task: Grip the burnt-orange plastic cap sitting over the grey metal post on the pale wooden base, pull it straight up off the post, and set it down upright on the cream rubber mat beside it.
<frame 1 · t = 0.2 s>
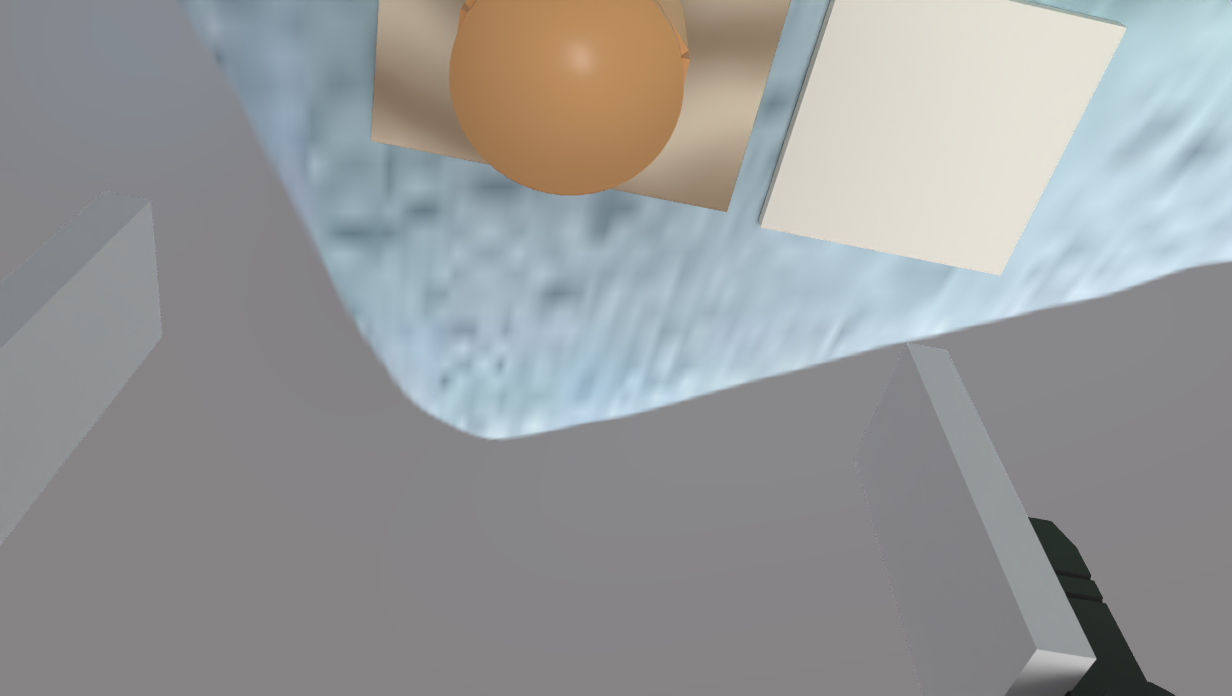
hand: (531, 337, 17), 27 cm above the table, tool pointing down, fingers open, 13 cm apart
cap: (577, 30, 33), point 7 cm above the table, touching post base
pad: (926, 127, 42), on the table
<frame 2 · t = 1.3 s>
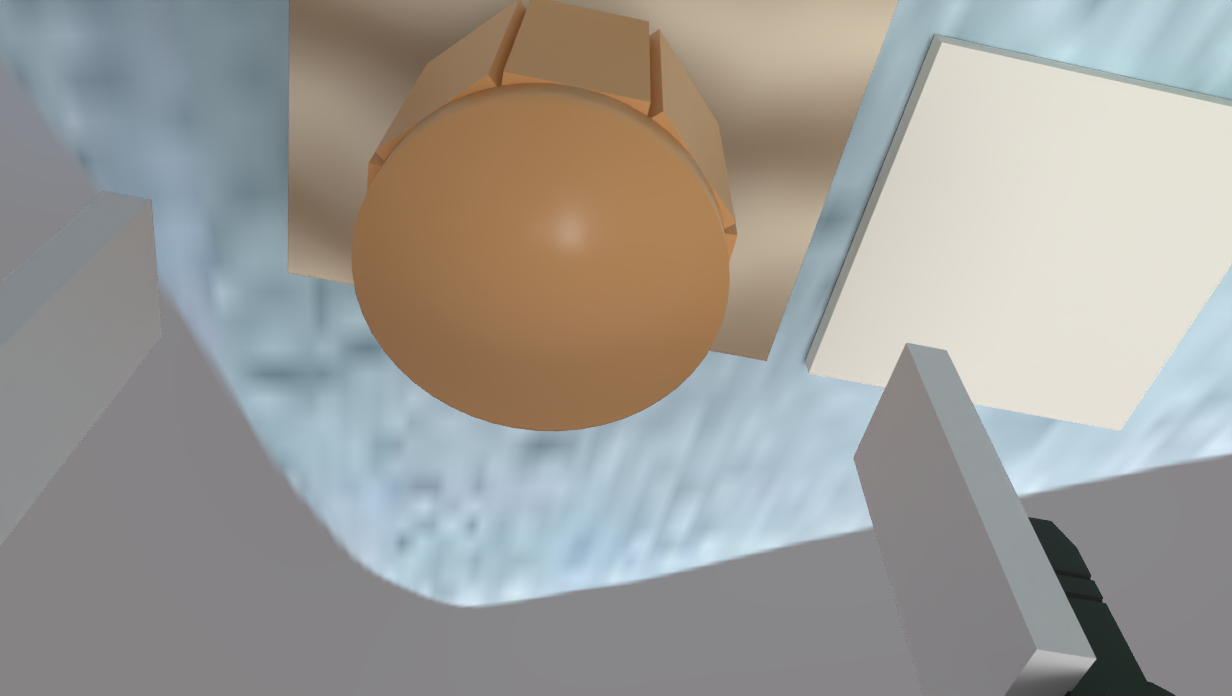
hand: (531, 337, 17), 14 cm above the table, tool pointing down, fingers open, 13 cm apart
cap: (563, 156, 22), point 7 cm above the table, touching post base
pad: (1034, 249, 31), on the table
post base: (579, 62, 28), on the table
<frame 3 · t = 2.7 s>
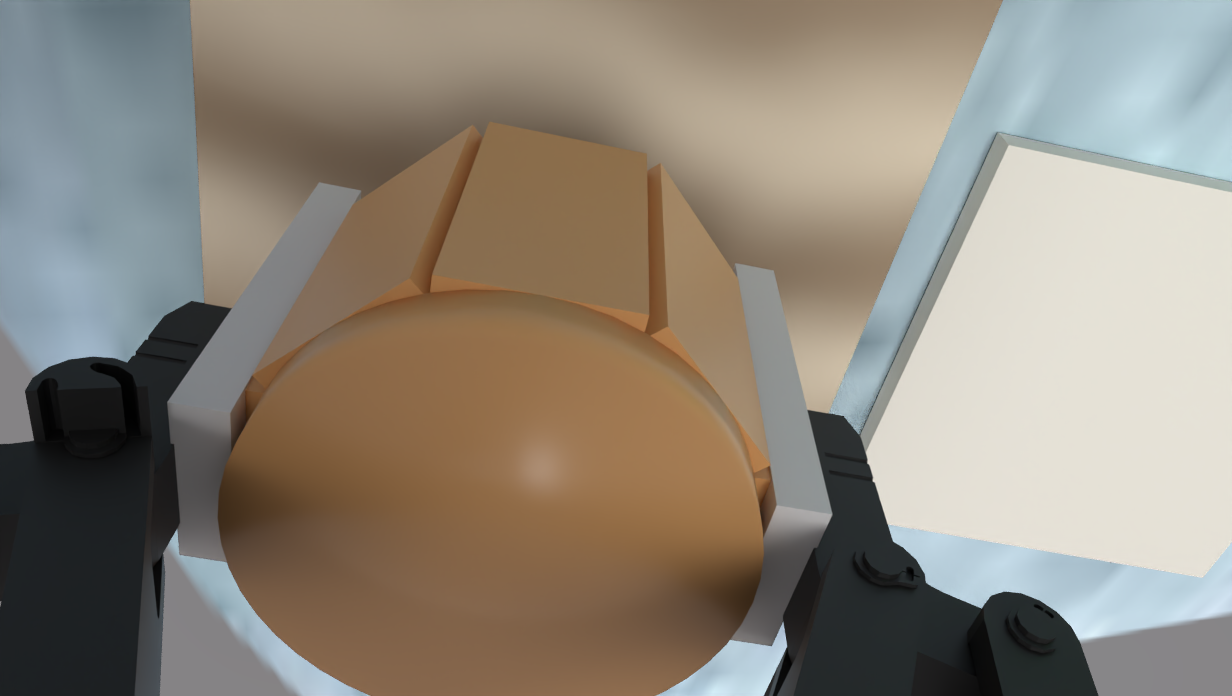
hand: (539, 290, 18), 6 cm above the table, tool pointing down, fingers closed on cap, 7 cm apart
cap: (535, 316, 17), point 7 cm above the table, touching gripper, post base
pad: (1108, 377, 26), on the table
post base: (561, 165, 23), on the table
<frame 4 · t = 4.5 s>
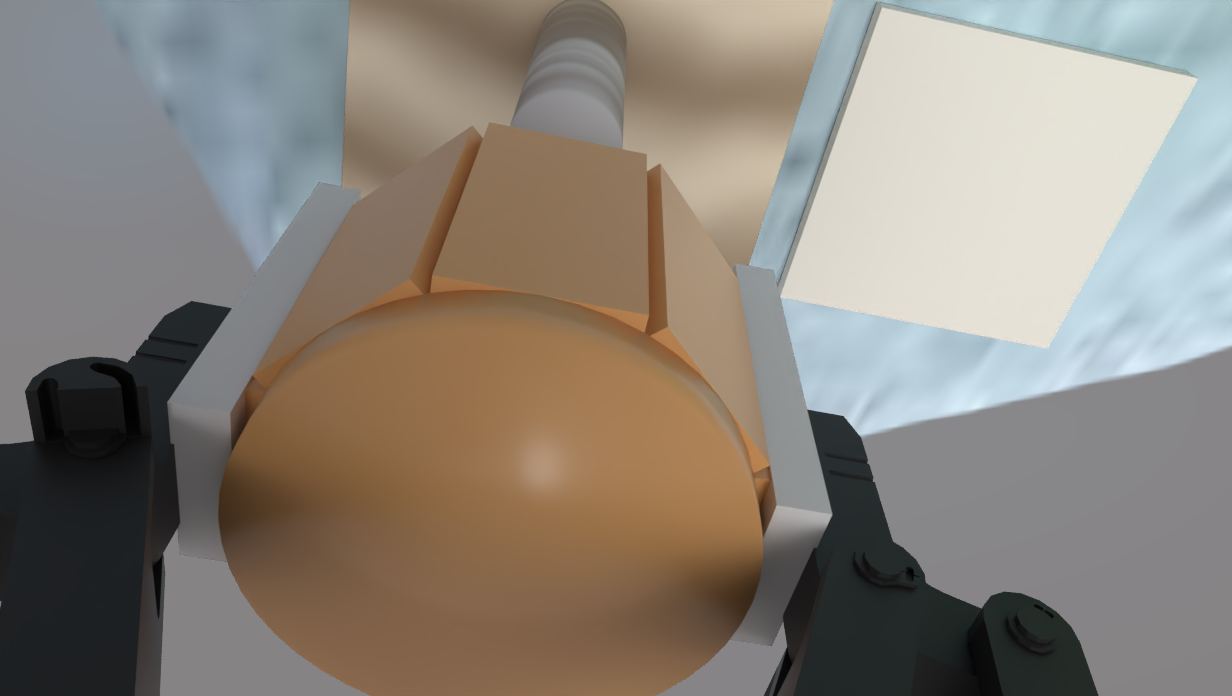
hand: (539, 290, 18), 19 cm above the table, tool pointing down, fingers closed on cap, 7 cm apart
cap: (535, 316, 17), point 20 cm above the table, touching gripper
pad: (967, 187, 37), on the table
post base: (585, 26, 34), on the table
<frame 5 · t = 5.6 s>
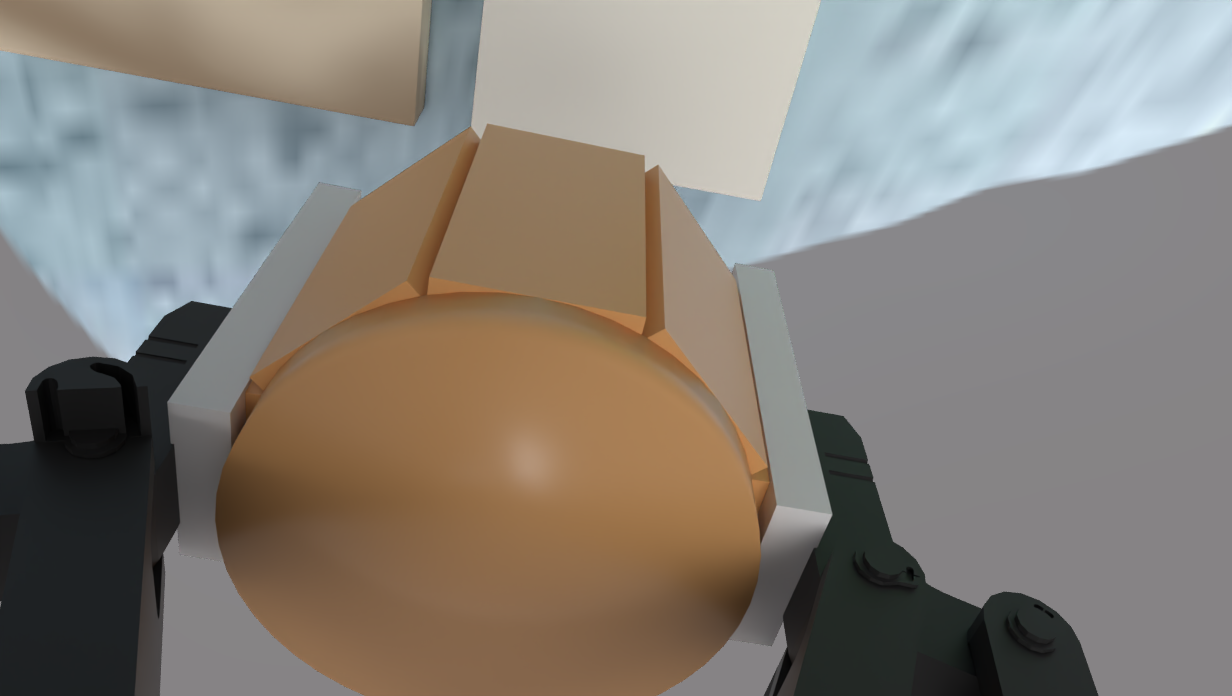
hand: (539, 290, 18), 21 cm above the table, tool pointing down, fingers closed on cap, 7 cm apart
cap: (533, 317, 17), point 22 cm above the table, touching gripper
pad: (646, 20, 35), on the table
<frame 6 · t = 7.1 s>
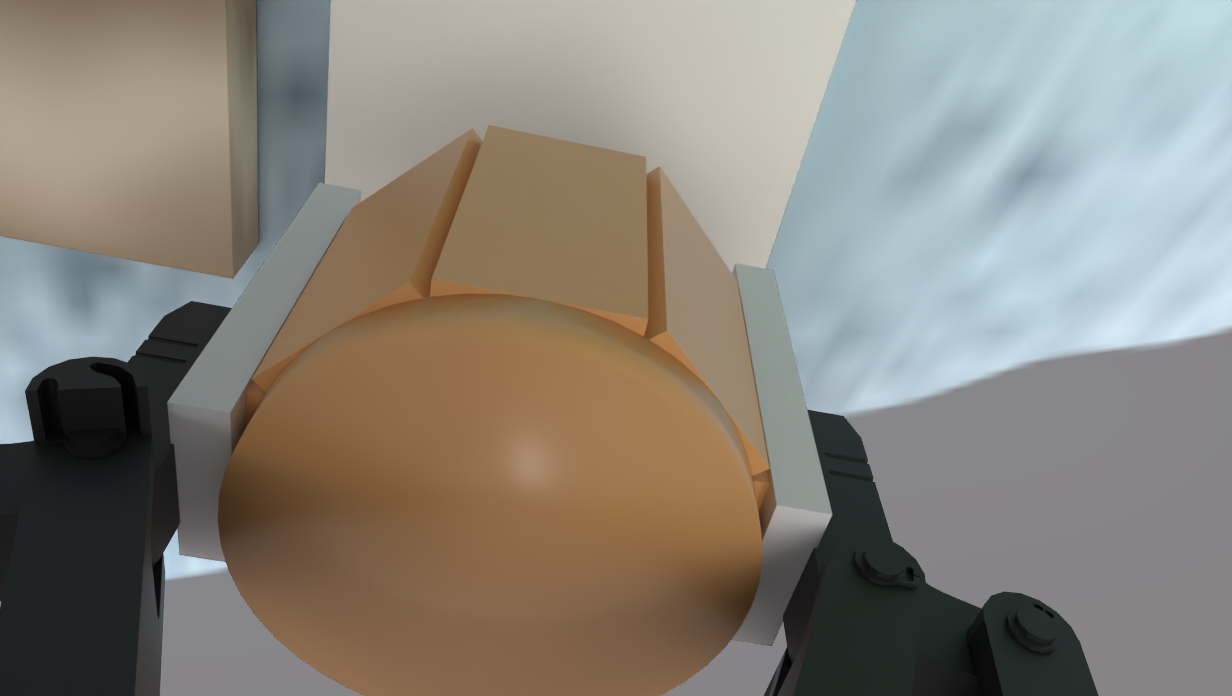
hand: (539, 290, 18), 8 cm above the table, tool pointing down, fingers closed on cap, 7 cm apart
cap: (535, 319, 17), point 9 cm above the table, touching gripper
pad: (566, 135, 25), on the table
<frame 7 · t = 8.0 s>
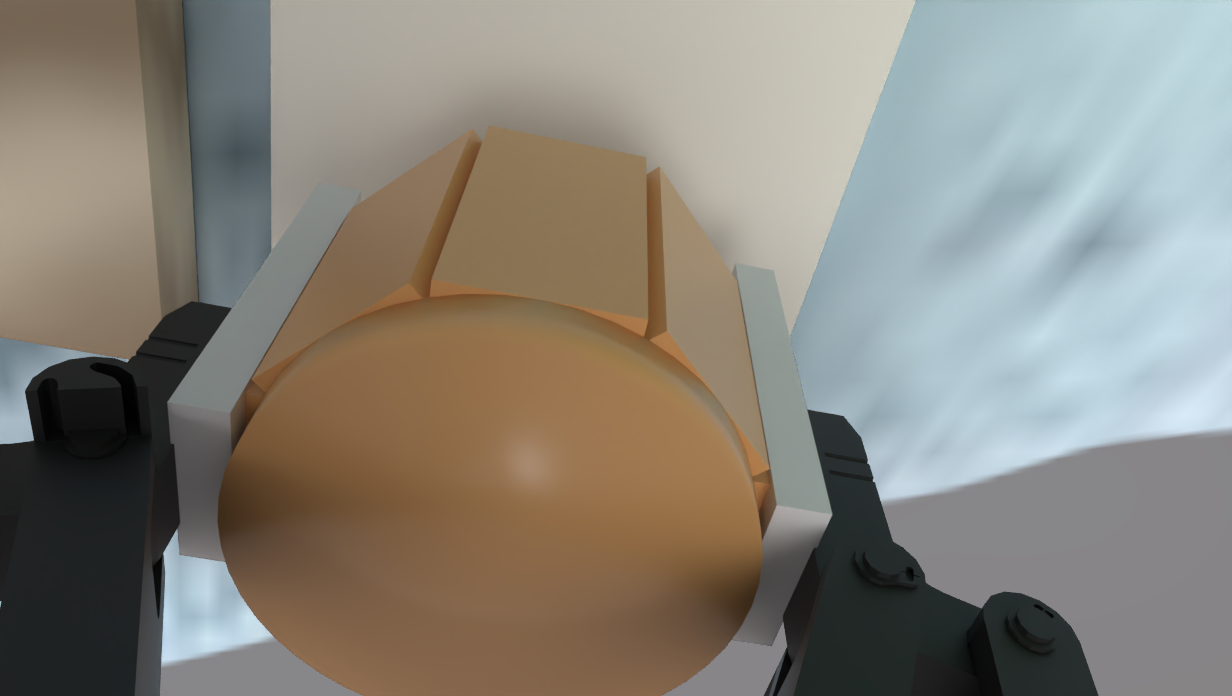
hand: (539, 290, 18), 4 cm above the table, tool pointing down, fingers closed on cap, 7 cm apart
cap: (534, 319, 17), point 5 cm above the table, touching gripper
pad: (554, 199, 21), on the table
when the fingers open (2 cm above the table, at t = 8.8 s): cap drops 2 cm, resting on pad.
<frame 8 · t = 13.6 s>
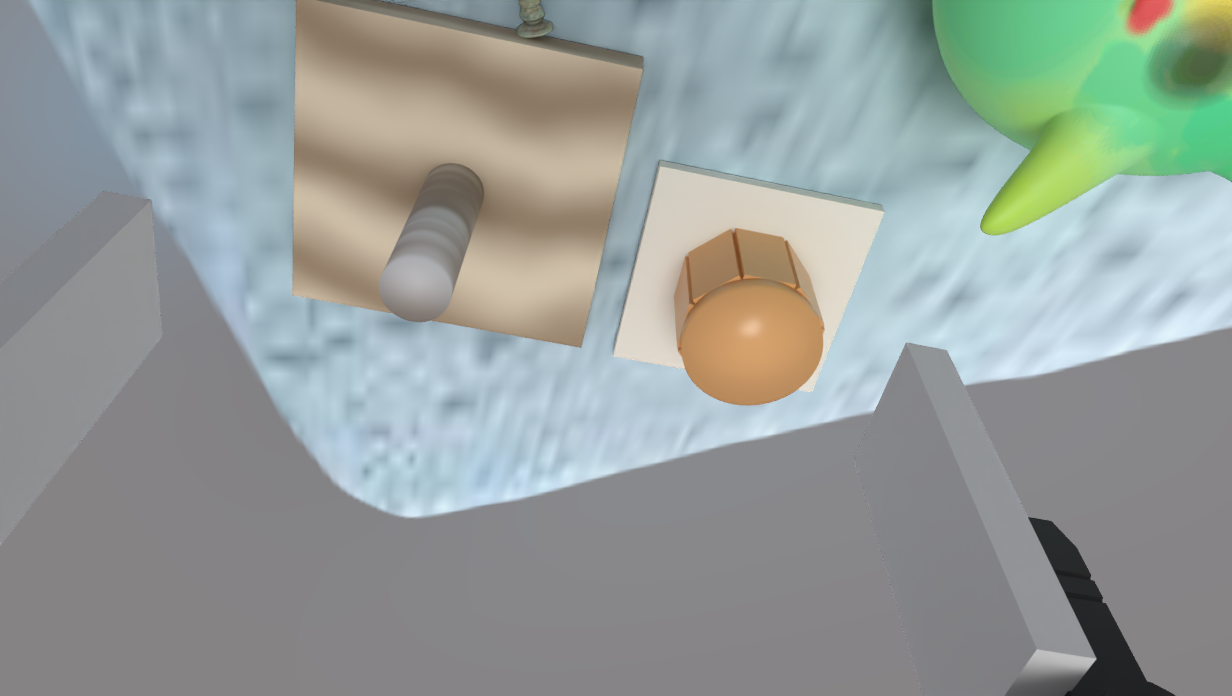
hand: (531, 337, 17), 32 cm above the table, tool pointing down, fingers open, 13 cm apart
cap: (741, 288, 51), point 1 cm above the table, touching pad
pad: (740, 280, 52), on the table
post base: (460, 175, 49), on the table
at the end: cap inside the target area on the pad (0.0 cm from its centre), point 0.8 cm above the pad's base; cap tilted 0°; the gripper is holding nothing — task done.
